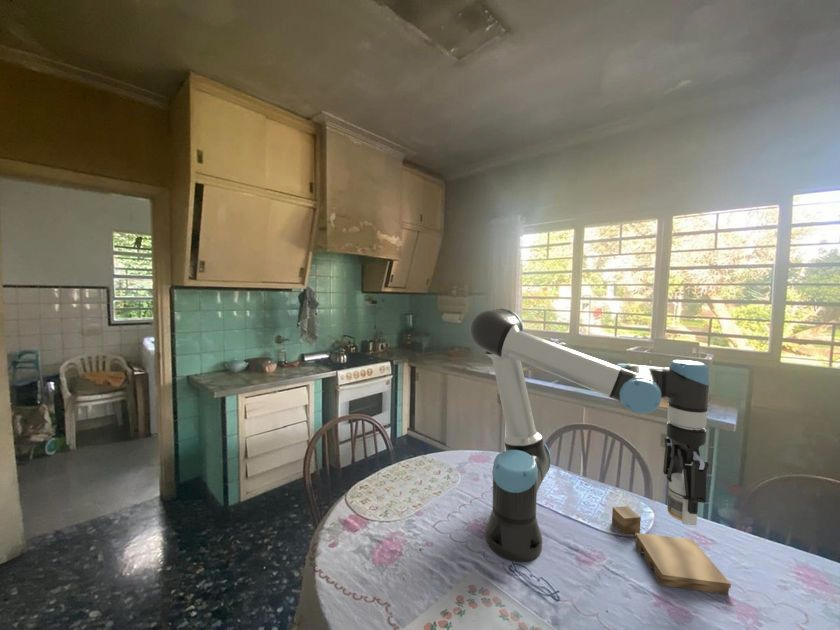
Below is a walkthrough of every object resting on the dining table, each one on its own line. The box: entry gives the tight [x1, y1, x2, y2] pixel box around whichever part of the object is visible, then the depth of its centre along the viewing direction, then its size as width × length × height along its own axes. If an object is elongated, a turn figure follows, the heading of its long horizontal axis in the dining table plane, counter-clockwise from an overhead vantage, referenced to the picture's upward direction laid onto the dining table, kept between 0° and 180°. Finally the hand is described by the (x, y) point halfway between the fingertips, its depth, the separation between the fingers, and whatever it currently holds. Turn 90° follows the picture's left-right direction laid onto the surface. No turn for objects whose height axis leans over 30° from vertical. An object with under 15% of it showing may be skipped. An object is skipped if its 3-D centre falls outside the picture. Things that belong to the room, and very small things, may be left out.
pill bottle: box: [666, 472, 686, 522], centre depth 83 cm, size 6×6×10 cm
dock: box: [634, 532, 732, 595], centre depth 85 cm, size 14×14×3 cm
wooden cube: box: [611, 505, 642, 536], centre depth 99 cm, size 5×5×5 cm
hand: (681, 514), depth 84 cm, fingers closed on pill bottle, 6 cm apart
